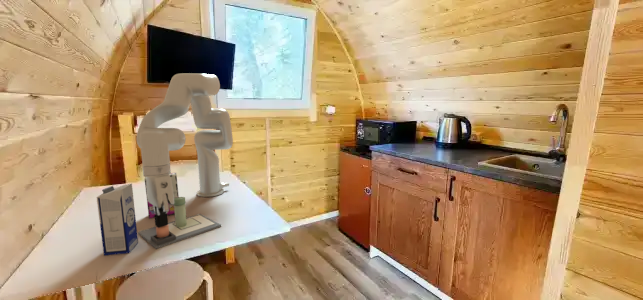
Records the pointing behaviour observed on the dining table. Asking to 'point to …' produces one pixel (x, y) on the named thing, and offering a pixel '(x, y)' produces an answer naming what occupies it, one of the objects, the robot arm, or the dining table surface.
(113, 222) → the milk carton
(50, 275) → the dining table surface
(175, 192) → the candy bar box
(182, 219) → the green cylinder
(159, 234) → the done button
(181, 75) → the robot arm
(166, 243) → the drawing board
